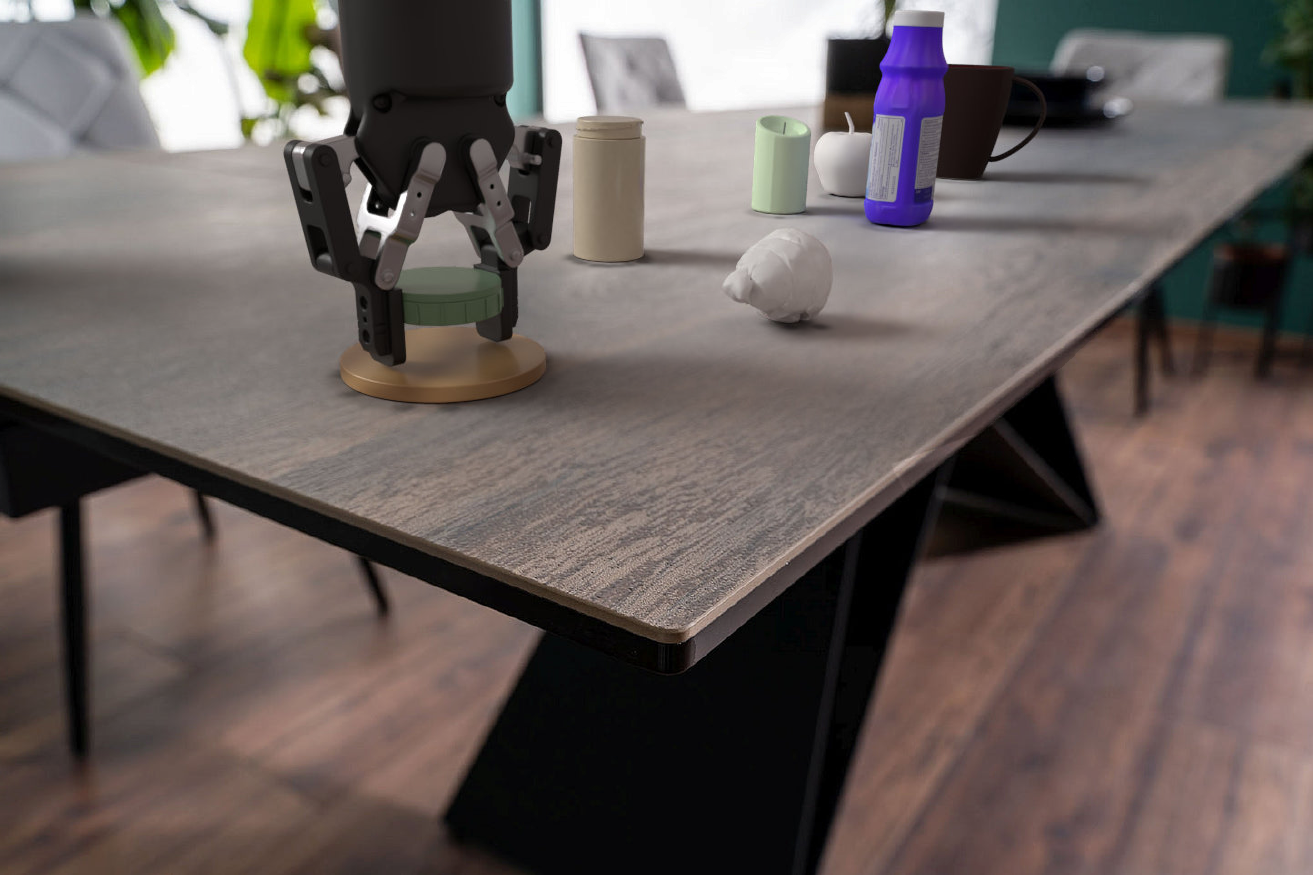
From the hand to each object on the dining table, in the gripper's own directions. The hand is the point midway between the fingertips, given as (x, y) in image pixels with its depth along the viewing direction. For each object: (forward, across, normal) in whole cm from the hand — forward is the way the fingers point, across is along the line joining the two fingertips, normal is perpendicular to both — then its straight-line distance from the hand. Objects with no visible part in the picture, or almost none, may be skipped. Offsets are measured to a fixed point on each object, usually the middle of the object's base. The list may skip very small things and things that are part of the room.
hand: (443, 348), depth 53 cm
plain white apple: (+1, +63, +21) cm, 67 cm away
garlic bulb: (+1, +19, -5) cm, 20 cm away
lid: (-3, 0, 0) cm, 3 cm away
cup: (+1, +86, +19) cm, 88 cm away
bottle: (+1, +54, +9) cm, 55 cm away
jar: (+1, +25, +15) cm, 29 cm away
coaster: (+1, 0, 0) cm, 1 cm away
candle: (+1, +51, +19) cm, 54 cm away
